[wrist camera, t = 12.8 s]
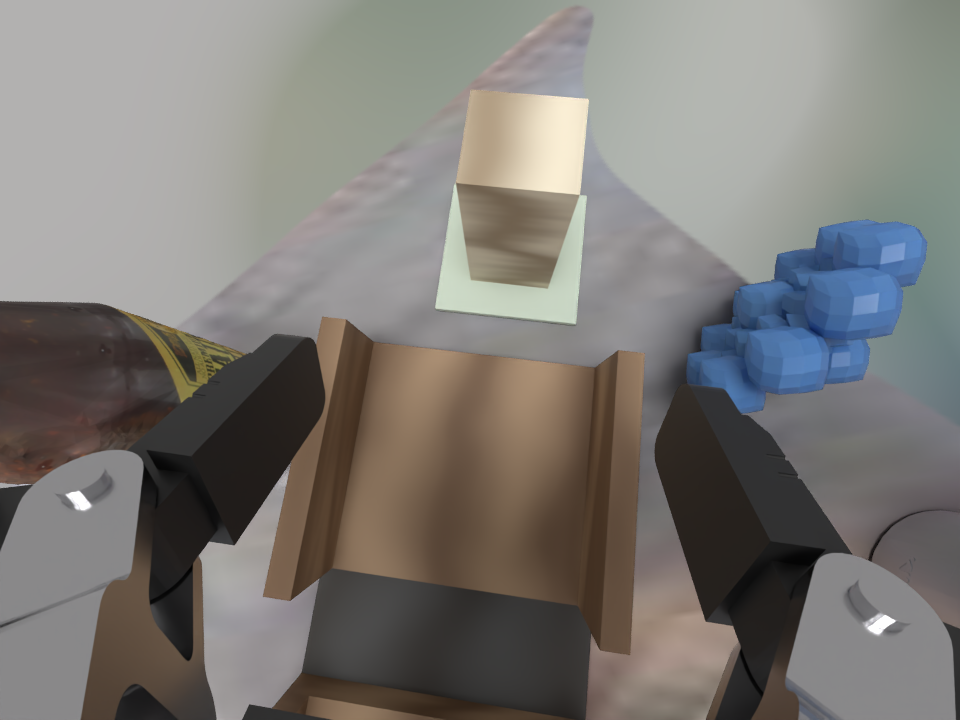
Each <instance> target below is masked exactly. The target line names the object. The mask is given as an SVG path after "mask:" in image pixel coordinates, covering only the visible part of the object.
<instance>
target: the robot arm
mask: <svg viewBox="0 0 960 720" xmlns="http://www.w3.org/2000/svg"><path fill="white" fill-rule="evenodd" d="M192 394H193V395H192V397H188V398H186V399H185V400H184V401H183V402H182V403H181V404H180V405H178V406H177V407H176V408H175V409H174V410H173V411H171V412H170V413H169V414H168V415H167V416H166V417H164V418H163V419H162V420H161V421H160V422H159V423H158V424H156V425H155V426H154V427H153V428H152V429H151V430H149V431H148V432H147V433H146V434H145V435H144V436H143V437H141V438H140V439H139V440H138V441H137V442H136V443H134V444H133V445H132V446H131V447H130V448H129V449H127V450H126V451H125V450H108V451H101V452H97V453H92V454H89V455H86V456H82V457H80V458H77V459H75V460H72V461H70V462H68V463H66V464H64V465H62V466H60V467H58V468H56V469H54V470H53V471H51V472H50V473H48V474H47V475H45V476H44V477H42V478H41V479H40V480H39V481H37V482H36V483H35V484H34V485H25V486H17V487H8V488H0V720H216V712H215V706H214V701H213V697H212V693H211V690H210V687H209V684H208V681H207V677H206V672H205V664H204V632H203V589H202V563H201V560H200V558H199V554H200V553H201V552H202V550H203V549H204V548H205V546H206V545H207V544H208V542H209V541H210V542H216V543H223V544H229V545H235V544H236V542H237V541H238V539H239V538H240V536H241V535H242V533H243V532H244V530H245V529H246V528H247V526H248V525H249V523H250V522H251V520H252V519H253V517H254V516H255V514H256V513H257V511H258V510H259V508H260V507H261V505H262V504H263V502H264V501H265V499H266V498H267V496H268V495H269V493H270V492H271V490H272V489H273V487H274V486H275V484H276V483H277V481H278V480H279V479H280V477H281V476H282V474H283V473H284V471H285V470H286V468H287V467H288V465H289V464H290V462H291V461H292V459H293V458H294V456H295V455H296V453H297V452H298V450H299V449H300V447H301V446H302V444H303V443H304V441H305V440H306V438H307V437H308V435H309V434H310V433H311V431H312V430H313V428H314V427H315V425H316V424H317V422H318V421H319V419H320V417H321V415H322V413H323V410H324V406H325V397H326V396H325V388H324V383H323V378H322V373H321V367H320V362H319V357H318V352H317V347H316V344H315V342H314V340H313V339H311V338H308V337H300V336H292V335H283V334H274V335H272V336H271V337H270V338H269V339H268V340H266V341H265V342H264V343H263V344H262V345H261V346H260V347H259V348H258V349H257V350H255V351H254V352H253V353H248V354H246V355H244V356H242V357H240V358H238V359H236V360H234V361H232V362H230V363H228V364H226V365H225V366H223V367H222V368H221V369H220V370H219V371H218V372H217V373H215V374H214V375H213V376H212V377H211V378H210V379H208V382H207V384H203V385H201V386H200V387H199V388H198V389H197V390H196V391H195V392H193V393H192ZM655 462H656V466H657V469H658V473H659V476H660V479H661V482H662V485H663V488H664V492H665V495H666V498H667V501H668V504H669V507H670V510H671V514H672V517H673V520H674V523H675V526H676V529H677V532H678V536H679V539H680V542H681V545H682V548H683V551H684V555H685V558H686V561H687V564H688V567H689V570H690V573H691V577H692V580H693V583H694V586H695V589H696V592H697V596H698V599H699V602H700V605H701V608H702V611H703V614H704V618H705V621H706V622H712V623H718V624H725V625H731V626H733V627H734V629H735V632H736V635H737V638H738V640H739V642H738V643H737V644H736V645H735V647H734V648H733V650H732V652H731V654H730V657H729V660H728V662H727V665H726V668H725V670H724V673H723V675H722V678H721V681H720V683H719V686H718V689H717V691H716V694H715V697H714V699H713V702H712V705H711V707H710V710H709V713H708V715H707V718H706V720H960V513H958V512H951V511H944V510H937V511H924V512H921V513H917V514H914V515H911V516H908V517H906V518H904V519H903V520H901V521H900V522H898V523H896V524H895V525H893V526H892V527H891V528H890V529H889V531H888V532H887V533H886V534H885V535H884V536H883V537H882V538H881V540H880V542H879V544H878V546H877V547H876V549H875V551H874V554H873V557H872V561H871V562H870V561H868V560H866V559H863V558H861V557H857V556H854V555H852V553H851V552H850V550H849V549H848V547H847V546H846V544H845V543H844V541H843V540H842V539H841V537H840V536H839V534H838V533H837V531H836V530H835V528H834V527H833V525H832V524H831V522H830V521H829V520H828V518H827V517H826V515H825V514H824V512H823V511H822V509H821V508H820V506H819V505H818V503H817V502H816V500H815V499H814V498H813V496H812V495H811V493H810V492H809V490H808V489H807V487H806V486H805V484H804V483H803V481H802V480H801V479H798V478H797V476H798V474H797V473H796V471H795V470H794V468H793V467H792V465H791V464H790V462H789V461H787V460H785V455H784V454H783V452H782V451H781V449H780V448H779V446H778V445H777V443H776V442H775V440H774V439H773V437H772V436H771V435H770V434H769V433H768V432H767V431H766V430H764V429H763V428H762V427H761V426H760V425H758V424H757V423H756V422H755V421H754V420H753V419H751V418H750V417H749V416H748V415H741V413H740V412H739V410H738V409H737V407H736V405H735V404H734V402H733V401H732V399H731V398H730V396H729V394H728V393H727V392H726V390H724V389H723V388H718V387H709V386H701V385H693V384H682V385H680V387H679V388H678V389H677V391H676V393H675V395H674V398H673V400H672V402H671V405H670V407H669V409H668V412H667V414H666V416H665V419H664V421H663V423H662V426H661V428H660V430H659V433H658V435H657V438H656V443H655ZM242 720H331V719H326V718H321V717H315V716H310V715H304V714H299V713H293V712H288V711H282V710H277V709H271V708H266V707H261V706H255V705H250V704H249V706H248V709H247V711H246V713H245V715H244V717H243V719H242Z"/></svg>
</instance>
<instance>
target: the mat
mask: <svg viewBox="0 0 960 720" xmlns="http://www.w3.org/2000/svg"><path fill="white" fill-rule="evenodd" d="M586 199H587V196H583V195H580V196H579V199H578V202H577V205H576V208H575V210H574V213H573V216H572V219H571V222H570V225H569V228H568V231H567V234H566V237H565V240H564V243H563V246H562V249H561V252H560V254H559V257H558V260H557V263H556V266H555V269H554V272H553V275H552V278H551V281H550V284H549V287H548V289H546V288H537V287H528V286H519V285H510V284H501V283H492V282H483V281H474V280H471V279H470V272H469V265H468V259H467V252H466V246H465V239H464V233H463V226H462V220H461V213H460V207H459V200H458V194H457V187H456V184H454V190H453V196H452V203H451V209H450V216H449V222H448V228H447V235H446V241H445V248H444V254H443V261H442V267H441V273H440V280H439V286H438V293H437V299H436V306H435V309H436V310H437V311H446V312H455V313H464V314H473V315H482V316H491V317H500V318H509V319H518V320H527V321H536V322H546V323H555V324H564V325H573V326H575V325H576V318H577V307H578V295H579V283H580V271H581V259H582V247H583V235H584V223H585V211H586Z"/></svg>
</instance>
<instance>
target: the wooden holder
mask: <svg viewBox="0 0 960 720" xmlns="http://www.w3.org/2000/svg"><path fill="white" fill-rule="evenodd" d="M316 347H317V352H318V357H319V362H320V367H321V373H322V378H323V383H324V388H325V396H326V397H325V406H324V410H323V413H322V415H321V417H320V419H319V421H318V422H317V424H316V425H315V427H314V428H313V430H312V431H311V433H310V434H309V435H308V437H307V438H306V440H305V441H304V443H303V444H302V446H301V447H300V449H299V450H298V452H297V453H296V455H295V456H294V458H293V459H292V462H291V467H290V471H289V476H288V481H287V485H286V490H285V495H284V499H283V504H282V509H281V514H280V518H279V523H278V528H277V532H276V537H275V542H274V547H273V551H272V556H271V561H270V565H269V570H268V575H267V580H266V584H265V589H264V594H263V597H269V598H275V599H281V600H288V601H291V600H292V599H293V598H294V597H296V596H297V595H298V594H300V593H301V592H302V591H303V590H305V589H306V588H307V587H309V586H310V585H311V584H313V583H314V582H315V581H316V580H318V579H319V578H320V579H319V584H318V590H317V595H316V600H315V606H314V611H313V616H312V622H311V627H310V632H309V638H308V643H307V648H306V653H305V659H304V664H303V669H302V673H301V675H300V676H299V677H298V678H297V679H296V681H295V682H294V683H293V684H292V685H291V686H290V688H289V689H288V690H287V691H286V692H285V694H284V695H283V696H282V697H281V698H280V700H279V701H278V702H277V703H276V704H275V706H274V707H273V708H272V709H277V710H282V711H288V712H293V713H299V714H304V715H310V716H315V717H321V718H326V719H331V720H585V716H586V701H587V685H588V670H589V655H590V640H591V633H592V635H593V637H594V639H595V641H596V643H597V645H598V647H599V649H600V650H601V651H608V652H614V653H620V654H626V655H630V647H631V627H632V606H633V585H634V564H635V544H636V523H637V502H638V482H639V461H640V440H641V419H642V399H643V378H644V357H645V353H638V352H629V351H620V350H618V351H617V352H615V353H614V354H613V355H611V356H610V357H609V358H607V359H606V360H605V361H603V362H602V363H601V364H599V365H598V366H597V367H595V368H592V367H583V366H575V365H566V364H558V363H549V362H540V361H532V360H523V359H515V358H506V357H497V356H489V355H480V354H472V353H463V352H454V351H446V350H437V349H429V348H420V347H411V346H403V345H394V344H386V343H377V342H373V341H372V340H371V339H369V338H368V337H367V336H366V335H365V334H363V333H362V332H361V331H360V330H358V329H357V328H356V327H355V326H354V325H352V324H351V323H350V322H349V321H347V320H346V319H337V318H328V317H322V320H321V325H320V330H319V335H318V339H317V344H316Z"/></svg>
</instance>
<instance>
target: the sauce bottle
mask: <svg viewBox="0 0 960 720" xmlns="http://www.w3.org/2000/svg"><path fill="white" fill-rule="evenodd" d="M244 355H246V354H245V353H242V352H239V351H236V350H233V349H231V348H228V347H226V346H222V345H219V344H216V343H214V342H211V341H208V340H206V339H203V338H200V337H196V336H193V335H191V334H188V333H186V332H182V331H179V330H177V329H174V328H171V327H168V326H165V325H162V324H159V323H156V322H154V321H151V320H148V319H146V318H142V317H140V316H137V315H134V314H130V313H127V312H124V311H122V310H119V309H116V308H113V307H110V306H107V305H103V304H98V303H71V302H70V303H69V302H9V301H7V302H5V301H0V483H7V484H17V485H18V484H35V483H36V482H37V481H39V480H40V479H41V478H42V477H44V476H45V475H47V474H48V473H50V472H51V471H53V470H54V469H56V468H58V467H60V466H62V465H64V464H66V463H68V462H70V461H72V460H75V459H77V458H80V457H82V456H86V455H89V454H92V453H97V452H101V451H108V450H125V451H126V450H127V449H129V448H130V447H131V446H132V445H133V444H134V443H136V442H137V441H138V440H139V439H140V438H141V437H143V436H144V435H145V434H146V433H147V432H148V431H149V430H151V429H152V428H153V427H154V426H155V425H156V424H158V423H159V422H160V421H161V420H162V419H163V418H164V417H166V416H167V415H168V414H169V413H170V412H171V411H173V410H174V409H175V408H176V407H177V406H178V405H180V404H181V403H182V402H183V401H184V400H185V399H186V398H188V397H192V395H193V394H192V393H193V392H195V391H196V390H197V389H198V388H199V387H200V386H201V385H203V384H207V382H208V379H210V378H211V377H212V376H213V375H214V374H215V373H217V372H218V371H219V370H220V369H221V368H222V367H223V366H225V365H226V364H228V363H230V362H232V361H234V360H236V359H238V358H240V357H242V356H244Z"/></svg>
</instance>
